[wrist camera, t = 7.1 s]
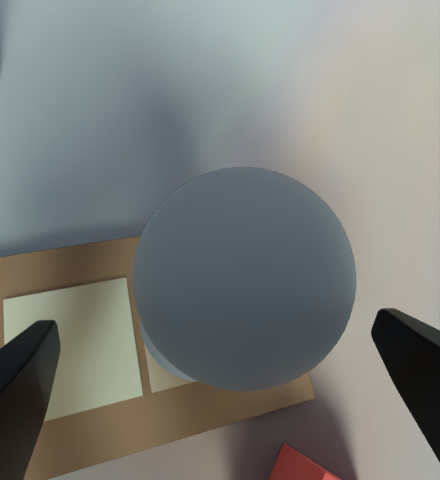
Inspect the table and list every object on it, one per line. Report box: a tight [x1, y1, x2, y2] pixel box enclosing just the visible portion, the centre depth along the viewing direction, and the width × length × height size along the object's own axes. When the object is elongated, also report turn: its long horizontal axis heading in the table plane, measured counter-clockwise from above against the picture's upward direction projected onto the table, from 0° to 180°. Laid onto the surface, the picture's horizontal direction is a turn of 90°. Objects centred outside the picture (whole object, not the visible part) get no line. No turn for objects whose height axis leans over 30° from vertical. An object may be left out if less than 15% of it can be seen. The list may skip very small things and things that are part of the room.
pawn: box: [132, 167, 356, 391], centre depth 11 cm, size 6×6×12 cm
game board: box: [0, 236, 316, 480], centre depth 16 cm, size 22×10×1 cm, turn 103°
